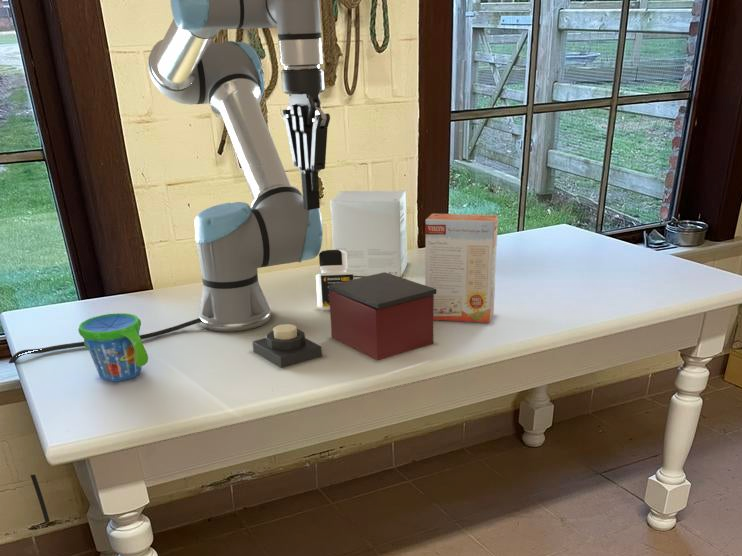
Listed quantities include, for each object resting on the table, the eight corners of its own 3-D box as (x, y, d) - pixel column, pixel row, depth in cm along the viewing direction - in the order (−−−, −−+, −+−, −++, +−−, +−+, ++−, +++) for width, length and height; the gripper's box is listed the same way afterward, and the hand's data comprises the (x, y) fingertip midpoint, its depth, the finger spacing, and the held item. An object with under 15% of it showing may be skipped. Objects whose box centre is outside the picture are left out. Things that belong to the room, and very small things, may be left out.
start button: (301, 337, 151) (300, 328, 150) (281, 342, 149) (280, 333, 148) (289, 331, 154) (288, 322, 153) (270, 336, 152) (269, 327, 151)
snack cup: (73, 373, 148) (60, 320, 142) (123, 356, 154) (112, 305, 149) (118, 395, 139) (105, 340, 133) (168, 377, 145) (158, 323, 140)
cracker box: (494, 315, 170) (499, 213, 158) (489, 324, 165) (494, 220, 154) (430, 311, 173) (431, 211, 162) (424, 320, 168) (424, 218, 157)
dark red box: (433, 343, 156) (433, 294, 151) (377, 360, 149) (375, 309, 144) (386, 323, 167) (384, 276, 162) (331, 338, 160) (328, 290, 155)
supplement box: (408, 263, 206) (407, 189, 196) (401, 277, 194) (400, 200, 185) (343, 262, 208) (339, 189, 198) (333, 276, 197) (328, 200, 187)
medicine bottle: (322, 308, 169) (319, 249, 166) (317, 307, 176) (313, 251, 172) (355, 306, 170) (352, 248, 167) (348, 306, 177) (345, 250, 174)
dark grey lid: (436, 293, 150) (436, 289, 150) (378, 309, 143) (378, 304, 143) (384, 276, 162) (384, 272, 161) (328, 289, 155) (328, 285, 154)
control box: (322, 357, 152) (320, 337, 150) (281, 368, 147) (279, 348, 145) (292, 341, 159) (291, 322, 157) (253, 351, 155) (251, 332, 153)
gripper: (340, 67, 135) (347, 211, 148) (300, 64, 144) (310, 200, 157) (303, 70, 132) (313, 217, 144) (265, 67, 141) (277, 206, 153)
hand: (311, 208), depth 151 cm, fingers closed
